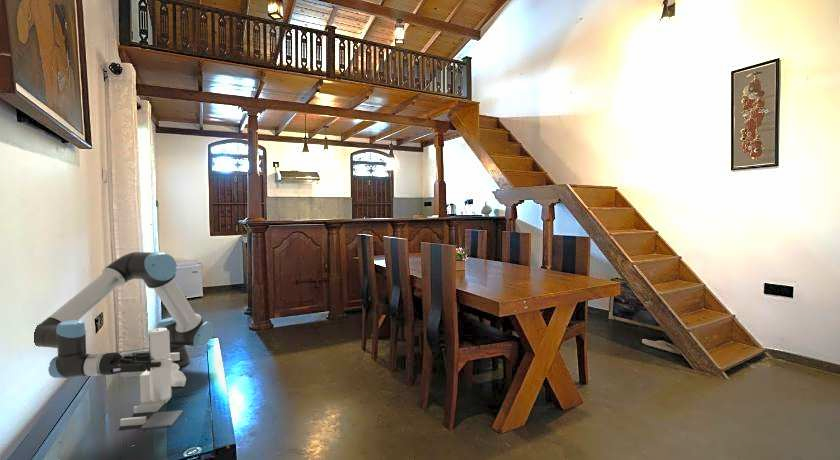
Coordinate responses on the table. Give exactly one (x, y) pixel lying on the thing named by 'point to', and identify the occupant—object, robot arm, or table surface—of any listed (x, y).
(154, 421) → the mat
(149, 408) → the housing
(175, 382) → the duck figurine
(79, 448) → the table surface
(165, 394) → the air filter
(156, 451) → the table surface
